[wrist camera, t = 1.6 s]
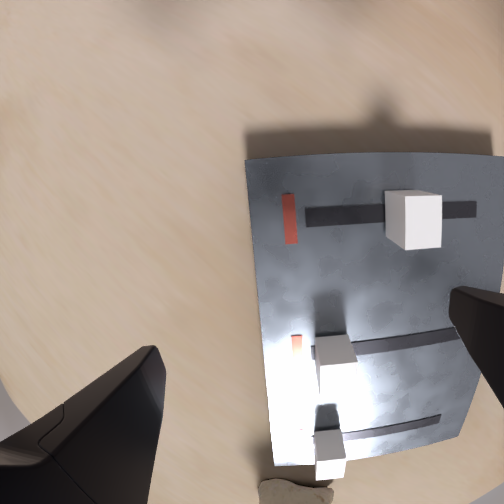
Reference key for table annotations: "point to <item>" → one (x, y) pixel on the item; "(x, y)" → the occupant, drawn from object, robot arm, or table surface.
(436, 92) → the table surface
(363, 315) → the panel
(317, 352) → the handle mid
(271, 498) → the faceted grey rock
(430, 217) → the handle
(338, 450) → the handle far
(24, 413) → the table surface
